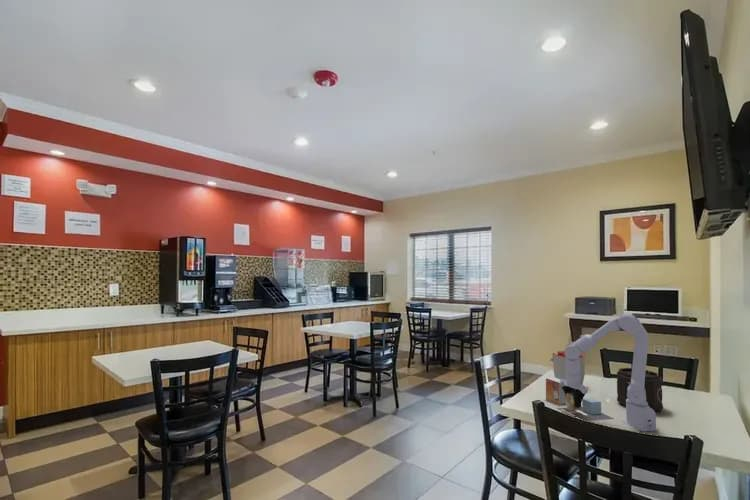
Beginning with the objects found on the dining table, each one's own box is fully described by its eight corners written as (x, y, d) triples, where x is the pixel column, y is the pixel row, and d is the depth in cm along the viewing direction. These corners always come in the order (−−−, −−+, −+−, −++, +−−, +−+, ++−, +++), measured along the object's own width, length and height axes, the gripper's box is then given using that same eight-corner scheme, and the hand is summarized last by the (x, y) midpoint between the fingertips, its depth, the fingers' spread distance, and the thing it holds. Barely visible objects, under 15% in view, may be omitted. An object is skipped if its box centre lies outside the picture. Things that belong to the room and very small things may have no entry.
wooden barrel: (653, 402, 180) (652, 368, 181) (671, 415, 162) (670, 378, 163) (610, 398, 185) (609, 365, 185) (623, 411, 167) (622, 375, 168)
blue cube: (601, 413, 162) (601, 401, 163) (591, 414, 162) (590, 402, 162) (592, 409, 167) (592, 398, 168) (582, 410, 166) (582, 398, 167)
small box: (545, 400, 181) (545, 377, 182) (554, 399, 183) (554, 376, 183) (559, 405, 173) (558, 382, 174) (568, 404, 175) (568, 381, 176)
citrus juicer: (558, 379, 217) (557, 344, 219) (590, 386, 204) (589, 349, 205) (544, 384, 208) (544, 347, 209) (578, 392, 194) (577, 352, 195)
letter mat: (614, 420, 157) (614, 418, 157) (580, 422, 154) (580, 421, 154) (587, 407, 171) (587, 406, 172) (556, 409, 169) (556, 408, 169)
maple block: (581, 409, 162) (581, 395, 163) (573, 410, 162) (572, 396, 162) (574, 406, 166) (574, 392, 167) (566, 407, 166) (566, 393, 166)
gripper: (554, 369, 171) (554, 400, 171) (576, 378, 157) (577, 411, 156) (567, 369, 173) (568, 399, 172) (591, 377, 158) (592, 410, 158)
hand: (573, 405), depth 164 cm, fingers closed on maple block, 4 cm apart
